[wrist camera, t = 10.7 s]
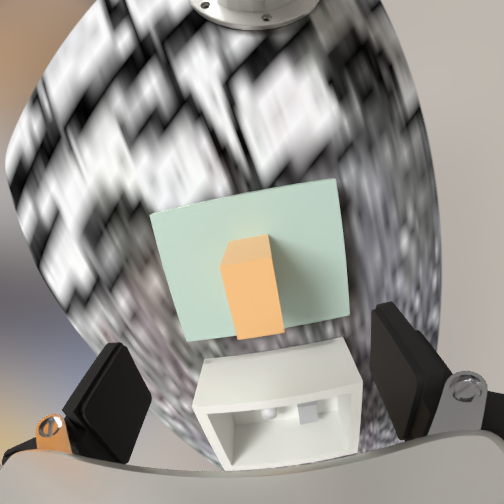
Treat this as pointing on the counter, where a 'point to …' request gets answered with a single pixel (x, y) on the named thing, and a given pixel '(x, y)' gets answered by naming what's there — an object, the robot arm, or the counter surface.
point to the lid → (255, 261)
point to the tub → (281, 405)
